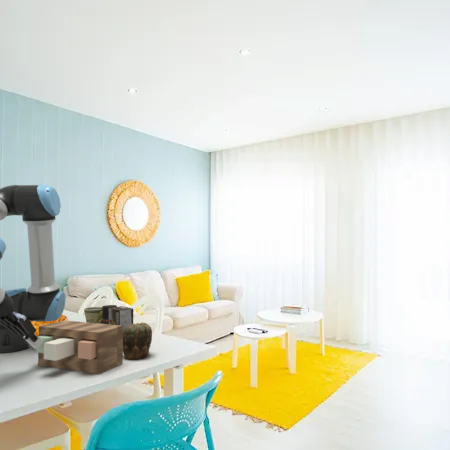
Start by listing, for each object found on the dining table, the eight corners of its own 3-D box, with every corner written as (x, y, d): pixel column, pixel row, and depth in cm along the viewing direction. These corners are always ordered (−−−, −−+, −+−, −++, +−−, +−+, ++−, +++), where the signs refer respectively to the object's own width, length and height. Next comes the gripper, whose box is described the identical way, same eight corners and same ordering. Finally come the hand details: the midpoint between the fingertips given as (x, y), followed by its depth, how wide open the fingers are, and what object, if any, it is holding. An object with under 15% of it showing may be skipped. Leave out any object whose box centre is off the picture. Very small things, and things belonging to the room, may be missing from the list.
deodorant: (112, 343, 167) (112, 307, 167) (99, 343, 168) (99, 306, 169) (118, 340, 173) (119, 305, 173) (106, 339, 174) (106, 304, 174)
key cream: (43, 359, 127) (44, 343, 127) (65, 352, 135) (65, 336, 135) (55, 360, 125) (56, 344, 125) (76, 353, 133) (77, 338, 133)
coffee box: (134, 349, 157) (134, 308, 158) (119, 352, 153) (119, 310, 154) (121, 345, 164) (122, 305, 165) (107, 348, 159) (107, 307, 160)
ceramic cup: (79, 329, 195) (80, 308, 196) (97, 326, 203) (97, 306, 204) (95, 333, 187) (96, 311, 188) (113, 329, 195) (113, 308, 196)
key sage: (36, 352, 135) (36, 337, 135) (56, 345, 143) (57, 331, 144) (47, 353, 133) (47, 338, 133) (67, 347, 141) (67, 332, 142)
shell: (158, 354, 150) (158, 322, 151) (137, 362, 141) (138, 327, 141) (136, 350, 156) (136, 319, 156) (115, 357, 146) (115, 324, 147)
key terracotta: (77, 357, 128) (78, 341, 128) (97, 351, 136) (97, 336, 137) (90, 359, 126) (90, 343, 126) (109, 352, 134) (109, 337, 135)
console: (38, 364, 137) (38, 326, 138) (64, 355, 149) (65, 320, 149) (98, 374, 127) (99, 332, 128) (122, 363, 138) (122, 325, 139)
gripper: (-31, 310, 118) (17, 353, 133) (1, 312, 113) (47, 357, 128) (-13, 290, 124) (31, 334, 138) (17, 292, 119) (60, 337, 133)
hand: (38, 345), depth 133 cm, fingers closed
